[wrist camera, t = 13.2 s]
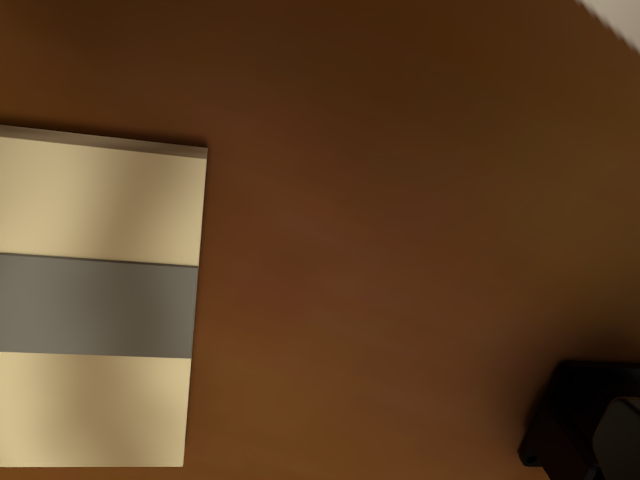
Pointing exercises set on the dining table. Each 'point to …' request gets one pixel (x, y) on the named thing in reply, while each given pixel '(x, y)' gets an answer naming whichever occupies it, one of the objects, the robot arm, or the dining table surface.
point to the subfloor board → (96, 297)
